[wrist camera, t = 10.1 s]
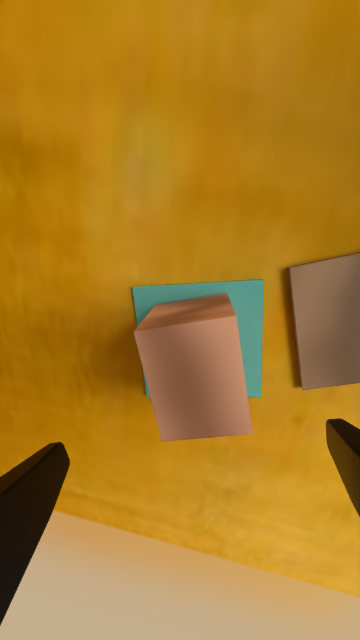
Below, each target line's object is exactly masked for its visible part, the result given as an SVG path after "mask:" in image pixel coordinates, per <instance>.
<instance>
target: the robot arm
mask: <svg viewBox="0 0 360 640" xmlns="http://www.w3.org/2000/svg"><path fill="white" fill-rule="evenodd" d="M326 437H327V445H328V449H329V451H330V453H331V456H332V458H333V460H334V463H335V465H336V467H337V469H338V472H339V474H340V476H341V479H342V481H343V483H344V485H345V488H346V490H347V492H348V494H349V497H350V499H351V501H352V503H353V505H354V507H355V509H356V511H357V513H358V515H359V516H360V429H358V428H357V427H355V426H353V425H352V424H350V423H348V422H346V421H345V420H343V419H328V420H327V421H326ZM69 465H70V460H69V457H68V454H67V452H66V449H65V447H64V445H63V443H61V442H55V443H50V444H48V445H47V446H45V447H44V448H42V449H41V450H39V451H38V452H36V453H35V454H33V455H32V456H30V457H29V458H28V459H26V460H25V461H23V462H22V463H20V464H19V465H17V466H16V467H14V468H13V469H11V470H10V471H9V472H7V473H6V474H4V475H3V476H1V477H0V625H1V623H2V621H3V619H4V616H5V614H6V612H7V610H8V608H9V606H10V603H11V601H12V599H13V597H14V595H15V593H16V591H17V588H18V586H19V584H20V582H21V580H22V577H23V575H24V573H25V571H26V569H27V567H28V565H29V562H30V560H31V558H32V556H33V554H34V552H35V549H36V547H37V545H38V543H39V541H40V538H41V536H42V534H43V532H44V530H45V528H46V525H47V523H48V521H49V519H50V516H51V514H52V512H53V509H54V507H55V504H56V501H57V499H58V496H59V493H60V490H61V488H62V485H63V482H64V480H65V477H66V474H67V471H68V469H69Z"/></svg>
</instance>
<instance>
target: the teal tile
mask: <svg viewBox="0 0 360 640" xmlns="http://www.w3.org/2000/svg"><path fill="white" fill-rule="evenodd" d="M263 282H264V280H263V279H259V280H241V281H223V282H206V283H188V284H170V285H153V286H135V287H132V289H133V297H134V305H135V312H136V320H137V327H138V325H139V324H140V323H141V322H142V321H143V319H144V318H145V317H146V316H147V314H148V313H149V312H150V311H151V310H152V308H153V307H154V306H155V305H157V304H163V303H169V302H174V301H180V300H186V299H192V298H198V297H204V296H210V295H215V294H221V293H227V294H228V297H229V299H230V301H231V304H232V306H233V309H234V311H235V313H236V316H237V324H238V331H239V338H240V345H241V353H242V360H243V367H244V375H245V382H246V389H247V397H254V398H261V366H262V324H263ZM143 374H144V370H143ZM144 382H145V389H146V397H150V393H149V389H148V385H147V382H146V378H145V374H144Z"/></svg>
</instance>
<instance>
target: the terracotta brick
mask: <svg viewBox="0 0 360 640" xmlns="http://www.w3.org/2000/svg"><path fill="white" fill-rule="evenodd" d="M134 336H135V340H136V343H137V347H138V351H139V355H140V359H141V363H142V366H143V370H144V374H145V378H146V382H147V385H148V389H149V393H150V397H151V401H152V405H153V408H154V412H155V416H156V420H157V424H158V427H159V431H160V435H161V439H162V441H174V440H186V439H198V438H210V437H222V436H234V435H246V434H253V433H252V426H251V418H250V411H249V404H248V397H247V389H246V382H245V375H244V367H243V360H242V353H241V345H240V338H239V331H238V324H237V316H236V313H235V311H234V309H233V306H232V304H231V301H230V299H229V297H228V294H227V293H221V294H215V295H210V296H204V297H198V298H192V299H186V300H180V301H174V302H169V303H163V304H157V305H155V306H154V307H153V308H152V310H151V311H150V312H149V313H148V314H147V316H146V317H145V318H144V319H143V321H142V322H141V323H140V324H139V325H138V327H137V328H136V329H135V330H134Z"/></svg>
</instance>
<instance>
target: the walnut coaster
mask: <svg viewBox="0 0 360 640" xmlns="http://www.w3.org/2000/svg"><path fill="white" fill-rule="evenodd" d="M288 277H289V286H290V295H291V304H292V314H293V323H294V332H295V341H296V350H297V360H298V369H299V378H300V387H301V388H302V390H308V389H315V388H323V387H331V386H339V385H347V384H355V383H360V252H359V253H354V254H349V255H345V256H340V257H335V258H330V259H325V260H321V261H316V262H311V263H306V264H301V265H297V266H292V267H288Z"/></svg>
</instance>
